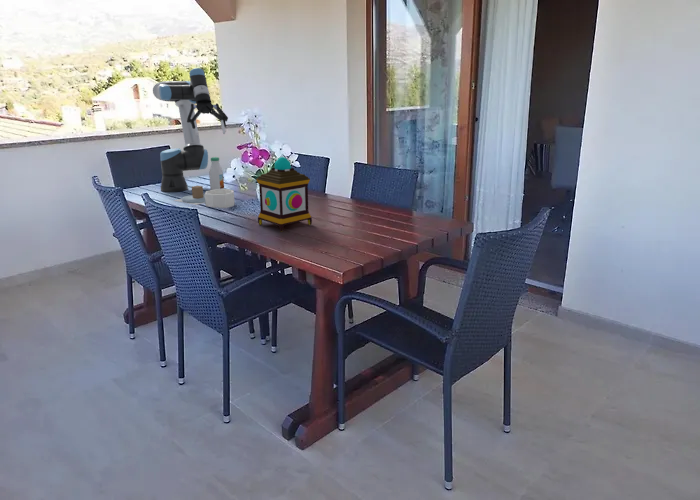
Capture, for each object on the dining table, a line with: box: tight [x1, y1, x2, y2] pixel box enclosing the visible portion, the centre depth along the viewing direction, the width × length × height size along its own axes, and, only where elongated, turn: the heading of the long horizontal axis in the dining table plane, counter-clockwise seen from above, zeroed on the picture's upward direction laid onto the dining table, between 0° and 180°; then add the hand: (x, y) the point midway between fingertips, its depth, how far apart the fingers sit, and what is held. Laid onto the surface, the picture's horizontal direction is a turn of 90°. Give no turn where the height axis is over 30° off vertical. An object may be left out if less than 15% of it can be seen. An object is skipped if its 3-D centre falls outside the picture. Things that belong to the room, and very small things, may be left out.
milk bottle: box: [208, 156, 225, 190], centre depth 286 cm, size 8×8×20 cm
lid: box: [181, 185, 205, 204], centre depth 269 cm, size 17×17×7 cm
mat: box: [173, 198, 206, 206], centre depth 270 cm, size 18×18×1 cm
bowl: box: [204, 188, 235, 209], centre depth 259 cm, size 14×14×7 cm
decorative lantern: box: [256, 156, 313, 233], centre depth 220 cm, size 20×20×30 cm
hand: (211, 133), depth 252 cm, fingers open, 13 cm apart
